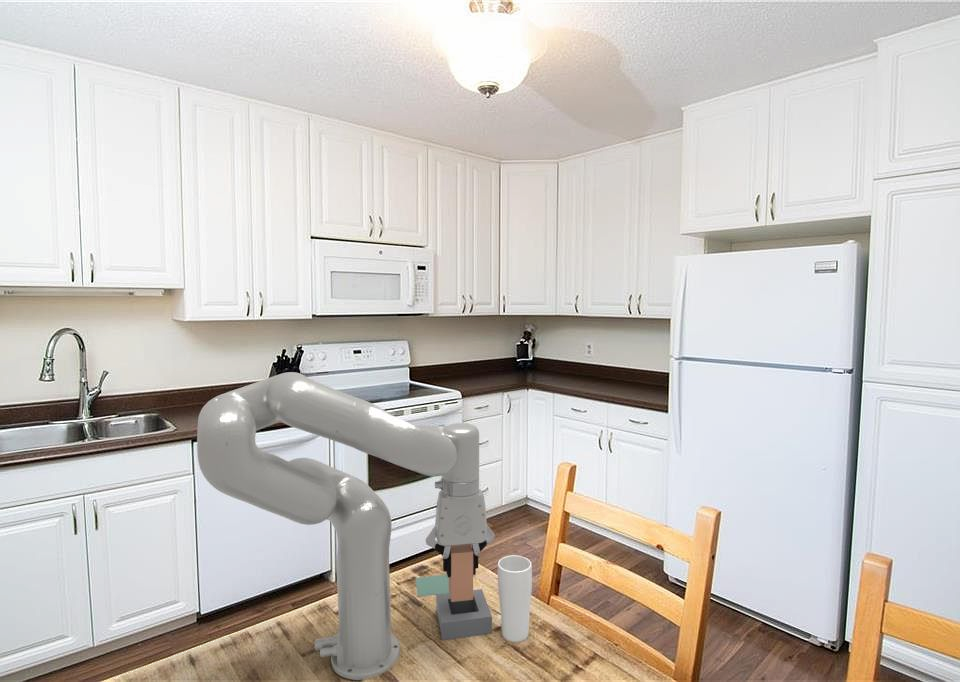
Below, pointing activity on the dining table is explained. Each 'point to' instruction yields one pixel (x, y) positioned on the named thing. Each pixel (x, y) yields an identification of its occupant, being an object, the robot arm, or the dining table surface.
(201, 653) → the dining table surface
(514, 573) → the drinking glass
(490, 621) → the pocket block
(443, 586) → the mat
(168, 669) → the dining table surface
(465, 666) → the dining table surface
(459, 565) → the peg
